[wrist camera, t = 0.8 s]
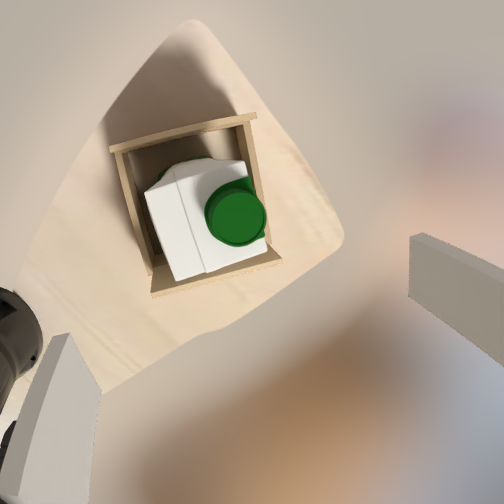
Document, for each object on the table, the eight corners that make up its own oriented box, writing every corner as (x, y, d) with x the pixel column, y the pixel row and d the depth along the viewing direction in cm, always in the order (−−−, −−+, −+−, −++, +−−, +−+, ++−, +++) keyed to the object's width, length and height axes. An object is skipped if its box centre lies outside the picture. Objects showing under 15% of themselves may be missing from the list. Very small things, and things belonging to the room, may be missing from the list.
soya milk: (234, 211, 43) (284, 265, 25) (169, 233, 42) (170, 304, 23) (217, 148, 40) (256, 150, 21) (148, 169, 39) (127, 191, 20)
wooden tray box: (150, 261, 42) (145, 300, 32) (120, 148, 37) (100, 149, 26) (261, 232, 45) (289, 261, 34) (239, 119, 39) (264, 110, 29)
